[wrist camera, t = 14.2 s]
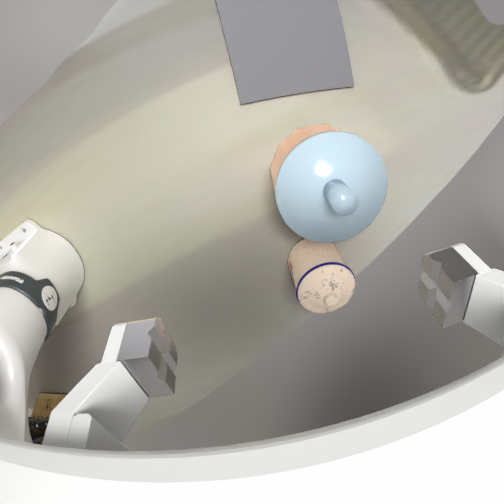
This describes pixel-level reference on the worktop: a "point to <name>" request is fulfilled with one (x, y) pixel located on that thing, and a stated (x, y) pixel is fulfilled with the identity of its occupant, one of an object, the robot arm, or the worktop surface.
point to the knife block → (42, 415)
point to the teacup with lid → (320, 276)
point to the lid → (331, 186)
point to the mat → (285, 46)
